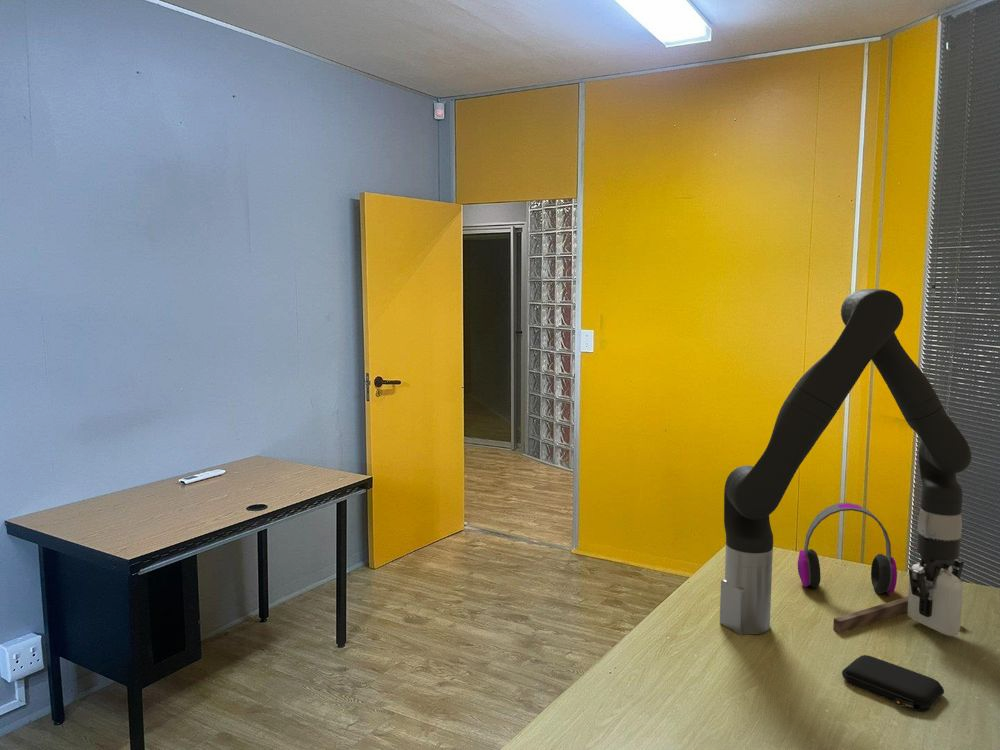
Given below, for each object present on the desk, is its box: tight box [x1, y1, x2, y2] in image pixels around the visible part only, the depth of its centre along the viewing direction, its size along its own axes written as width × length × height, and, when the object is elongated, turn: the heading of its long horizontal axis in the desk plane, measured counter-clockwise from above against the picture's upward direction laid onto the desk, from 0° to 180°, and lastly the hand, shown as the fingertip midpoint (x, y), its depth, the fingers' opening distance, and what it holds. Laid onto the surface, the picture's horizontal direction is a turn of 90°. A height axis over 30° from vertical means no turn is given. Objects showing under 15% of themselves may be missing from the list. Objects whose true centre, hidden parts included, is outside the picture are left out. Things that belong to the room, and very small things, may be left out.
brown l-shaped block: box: [832, 596, 908, 634], centre depth 153 cm, size 25×10×3 cm, turn 116°
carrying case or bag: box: [841, 654, 945, 712], centre depth 131 cm, size 11×3×15 cm
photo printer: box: [907, 562, 964, 637], centre depth 151 cm, size 10×4×12 cm, turn 20°
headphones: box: [797, 502, 898, 595], centre depth 171 cm, size 21×9×20 cm, turn 77°
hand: (933, 612), depth 151 cm, fingers closed on photo printer, 4 cm apart
